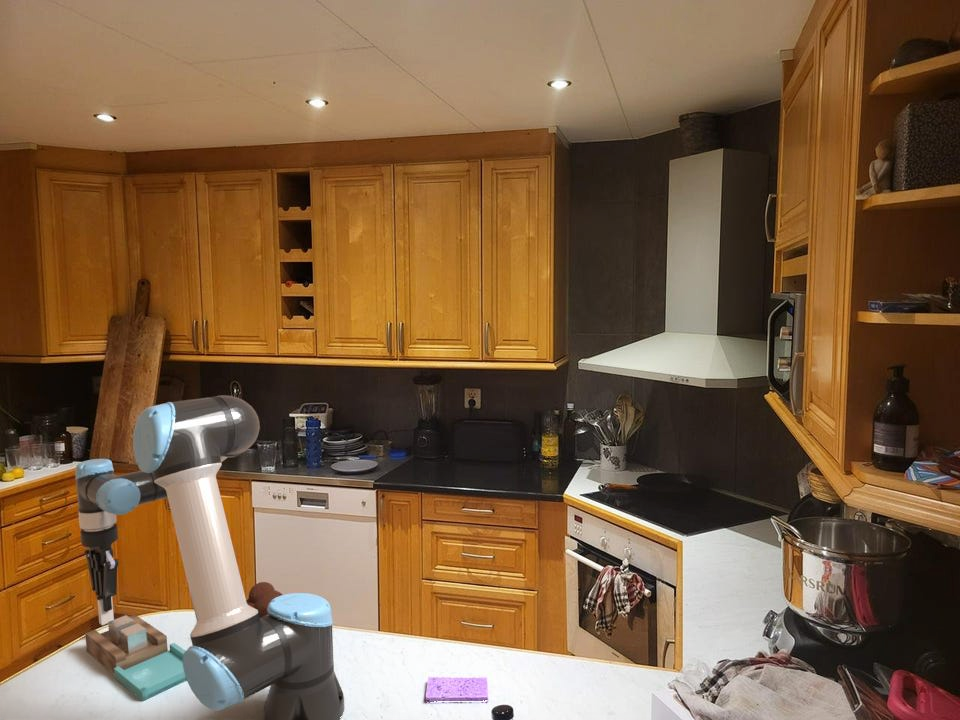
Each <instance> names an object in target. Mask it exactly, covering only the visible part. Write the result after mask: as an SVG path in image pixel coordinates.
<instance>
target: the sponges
mask: <svg viewBox="0 0 960 720" xmlns="http://www.w3.org/2000/svg"><path fill="white" fill-rule="evenodd" d="M488 687H489V686H488V677H487V676H486V677H482V676H481V677H480V676H479V677H447V676H446V677H445V676H444V677H443V676H441V677H440V676H439V677H438V676H428V677H427V681H426V692H425V703H426V702H434V701H436V702H437V701H483V700H484V701H485V700H488V701H489V691H488V690H489V689H488Z"/></svg>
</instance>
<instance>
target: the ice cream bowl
mask: <svg viewBox="0 0 960 720" xmlns="http://www.w3.org/2000/svg"><path fill="white" fill-rule="evenodd" d="M281 595H283V593H281V592H280V591H278V590H276V589H275V588H274V585H272V583H270V582H267V581H260V582H258V583H256V584H254V585H253V586H252V587H251V588H250V590H249V592H248V598H246V602H247V604H248V605H249V606H251V607H253V608H255V609H257V610H258V613H259V617H260V618H261V617H264V616H266V615H267V614H268V611H267V608H268V605H269V603H270V602H271V600H273V599H274V598H276V597H278V596H281Z"/></svg>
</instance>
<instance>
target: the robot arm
mask: <svg viewBox="0 0 960 720" xmlns="http://www.w3.org/2000/svg"><path fill="white" fill-rule="evenodd" d="M259 419H260V418H259V416H258V414H257V411H256V410H255V409H254V408H253V406H252V405H250V404H249V403H248V402H247V401H245V400H244V399H241V398H240V397H236V396H233V395H224V394H223V395H222V394H221V395H214V396H210V397H202V398H195V399H186V400H177V401H167V402H165V403H161V404H156V405H153V406H149V407H146V408H145V409H144V410H142V411H141V413H140V414H139V415H138V417H137V419H136V422H135V426H134V429H133V435H132V437H133V439H132V446H133V455H134V459H135V463H136V464H137V466H138V469H139V470H138V471H133V472H129V473H124V474H119V475H116V474H114V471H115V469H114V467H113V462H112V460H110V459H108V458H94V459H88V460H84V461H82V462H79V463H78V464H77V465H76V466H75V479H74V481H75V485H76V494H77V495H76V496H77V505H78V511H77V512H78V523H79V528H80V542H81V545H82V546H83V547H84V548H88V549H85V550H84V554H85V558H86V560H87V561H86V562H87V568H88V573H89V577H90V578H89V579H90V584H91V590H92V591H93V592H95V596H96V600H97V613H98V622H99V625H101V626H104V625H106V624H108V622H109V621H112V620H115V618H114V617H115V616H114V615H115V614H114V605H113V604H114V603H113V597H114V596H117V589H118V588H117V587H118V586H117V584H118V567H119V559H118V558H115V559H114V558H113V557H114V550H113V548H112V544H114V542H117V541H118V539H119V531H118V530H119V529H118V528H119V527H118V524H117V516H118V515H119V516H120V515H121V516H122V515H126V514H129V513H130V512H132V511H134V509H136V508H137V507H138V506H140V505H144V504H149V503H151V502H155V501H159V500H163V499H167V502H168V504H169V509H170V513H171V518H172V521H173V522H172V523H173V526H174V530H175V535H176V538H177V543H178V546H179V551H180V556H181V560H182V563H183V568H184V573H185V577H186V581H187V586H188V589H189V595H190V598H191V602H192V606H193V611H194V614H195V620H196V623H195V625H194V626H193V629H192V630H191V632H190V634H189V636H190V641H191V644H192V645H190V646H189V647H188V648H187V649H185V653H184V655H183V661H184V662H183V669H184V673H185V676H186V679H187V680H186V682H187V684H188V686H189V687H190V690H191V692H192V693H193V695H194V696H195V698H197V700H198V701H199V702H200V703H201V704H202V705H203V706H204V707H206V708H207V709H209V710H210V711H211V710H212V711H222V710H224V709H227V708H229V707H231V706H233V705H236V704H240V703H242V702H243V701H244V700H246V699H247V698H249V697H251V696H253V695H255V694H257V693H259V692H261V691H263V690H264V689H266V688H268V687H269V691H268V693H267V699H266V701H265V704H264V707H263V720H339V719H340V720H341V718H342V717H341V716H343V715H344V713H345V695H344V692H343V690H342V686H341V685H340V682H339V680H338V679H339V678H338V677H337V674H336V671H335V669H334V668H335V666H334V641H333V637H334V636H333V624H334V619H333V613H332V608H331V604H330V603H329V601H328V600H327V599H325V598H324V597H322V596H321V595H317V594H313V593H305V592H294V593H293V592H292V593H285V594H282V595H281V596H278V597H276V598H274V599H273V600H271V602H270V603H269V605H268V608H267V611H268V614H267V615H266V616H264V617H261V618H260V617H259V613H258V610H257V609H255V608H253V607H251V606H249V605H248V604H247V602H246V600H247V598H246V594H245V590H244V587H243V582H242V578H241V575H240V570H239V569H240V568H239V566H238V562H237V559H236V553H235V550H234V545H233V542H232V538H231V537H232V536H231V534H230V533H231V532H230V529H229V526H228V521H227V517H226V512H225V509H224V505H223V501H222V497H221V493H220V489H219V485H218V484H219V483H218V479H217V474H218V472H219V470H220V469H221V467H222V462H224V461H225V460H227V458H235V457H238V456H240V455H242V453H244V452H246V451H247V450H248V449H250V448H251V447H252V446H253V444H255V442H256V440H257V439H258V436H259V433H260V429H261V426H260V420H259ZM343 712H344V713H343ZM340 717H341V718H340Z"/></svg>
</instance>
